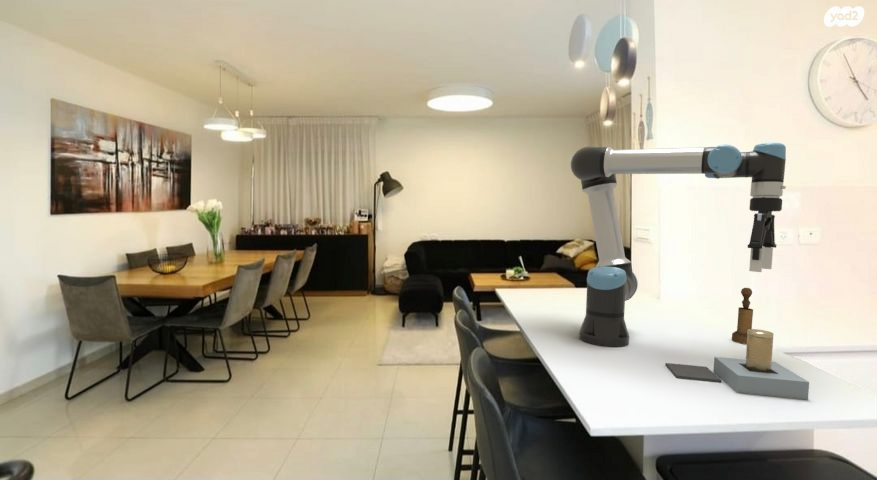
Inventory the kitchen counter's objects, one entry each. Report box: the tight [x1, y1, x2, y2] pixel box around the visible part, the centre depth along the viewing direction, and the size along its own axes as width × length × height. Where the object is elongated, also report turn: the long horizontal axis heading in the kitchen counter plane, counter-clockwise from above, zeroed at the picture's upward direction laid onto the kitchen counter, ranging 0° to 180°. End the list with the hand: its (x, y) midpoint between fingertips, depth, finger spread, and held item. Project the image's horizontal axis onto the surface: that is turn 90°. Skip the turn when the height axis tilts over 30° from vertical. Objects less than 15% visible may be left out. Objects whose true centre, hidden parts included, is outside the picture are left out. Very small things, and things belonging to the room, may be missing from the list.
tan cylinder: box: [745, 328, 774, 373], centre depth 105 cm, size 5×5×13 cm
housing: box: [712, 356, 810, 400], centre depth 105 cm, size 14×14×4 cm
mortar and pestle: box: [731, 287, 754, 345], centre depth 144 cm, size 7×6×18 cm
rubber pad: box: [664, 362, 723, 383], centre depth 112 cm, size 10×10×1 cm
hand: (760, 270), depth 127 cm, fingers open, 13 cm apart
